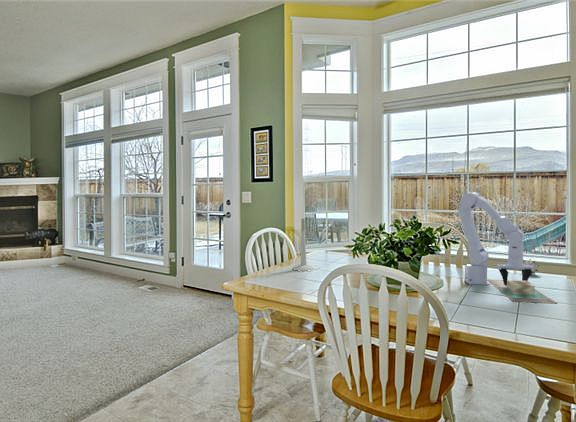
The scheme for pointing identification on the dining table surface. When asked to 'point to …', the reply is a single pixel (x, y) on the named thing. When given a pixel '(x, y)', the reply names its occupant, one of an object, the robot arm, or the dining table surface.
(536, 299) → the shallow brown tray
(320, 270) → the dining table surface
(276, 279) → the dining table surface
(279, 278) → the dining table surface
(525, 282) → the birch block
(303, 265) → the candlestick
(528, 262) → the game die
